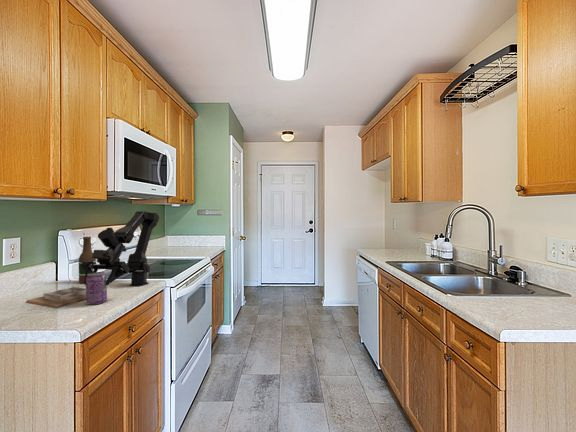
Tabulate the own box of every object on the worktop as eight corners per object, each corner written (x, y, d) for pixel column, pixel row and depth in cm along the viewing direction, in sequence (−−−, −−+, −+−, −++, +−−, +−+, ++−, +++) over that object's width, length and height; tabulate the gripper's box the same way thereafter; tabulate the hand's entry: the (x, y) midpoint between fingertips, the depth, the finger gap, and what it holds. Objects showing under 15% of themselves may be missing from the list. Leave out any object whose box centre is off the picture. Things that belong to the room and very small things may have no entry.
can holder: (76, 290, 143) (76, 283, 143) (105, 294, 135) (105, 287, 135) (26, 302, 124) (26, 295, 124) (57, 307, 117) (57, 300, 117)
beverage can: (103, 299, 128) (102, 271, 128) (109, 302, 123) (109, 273, 123) (83, 303, 122) (83, 273, 122) (89, 306, 118) (89, 276, 118)
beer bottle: (85, 284, 154) (84, 237, 153) (75, 283, 157) (74, 237, 156) (99, 281, 161) (99, 236, 161) (89, 280, 164) (89, 235, 163)
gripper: (83, 242, 128) (62, 273, 117) (125, 242, 127) (107, 273, 116) (96, 257, 136) (78, 288, 125) (136, 258, 134) (120, 289, 124)
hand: (95, 284), depth 122 cm, fingers open, 9 cm apart
